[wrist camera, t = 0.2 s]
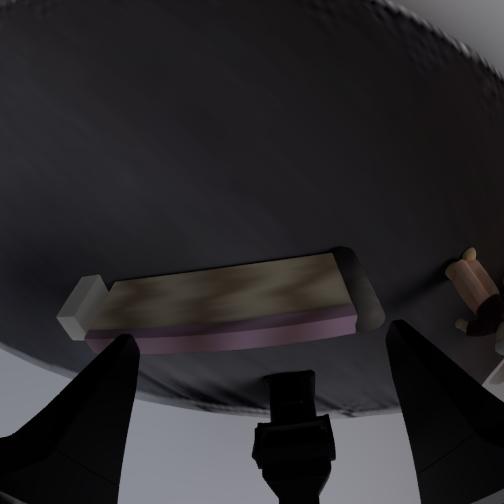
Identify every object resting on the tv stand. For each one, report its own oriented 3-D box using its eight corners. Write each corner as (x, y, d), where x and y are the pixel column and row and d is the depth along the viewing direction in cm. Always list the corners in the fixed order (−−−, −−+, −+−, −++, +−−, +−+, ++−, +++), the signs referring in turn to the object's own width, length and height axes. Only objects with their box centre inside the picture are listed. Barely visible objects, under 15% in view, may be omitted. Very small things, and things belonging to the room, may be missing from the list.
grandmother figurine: (473, 233, 23) (546, 314, 12) (484, 251, 24) (548, 328, 13) (426, 284, 26) (481, 378, 16) (440, 297, 27) (490, 384, 17)
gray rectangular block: (111, 297, 27) (90, 340, 22) (94, 299, 27) (72, 340, 22) (99, 274, 25) (74, 316, 20) (82, 276, 26) (56, 317, 21)
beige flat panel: (355, 245, 23) (387, 306, 17) (354, 266, 24) (382, 329, 18) (113, 278, 25) (82, 337, 19) (122, 296, 26) (95, 354, 20)
